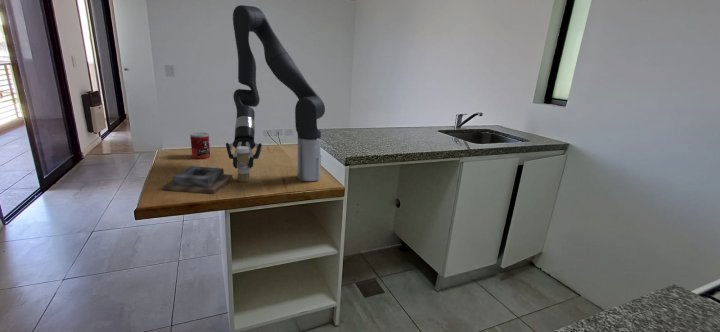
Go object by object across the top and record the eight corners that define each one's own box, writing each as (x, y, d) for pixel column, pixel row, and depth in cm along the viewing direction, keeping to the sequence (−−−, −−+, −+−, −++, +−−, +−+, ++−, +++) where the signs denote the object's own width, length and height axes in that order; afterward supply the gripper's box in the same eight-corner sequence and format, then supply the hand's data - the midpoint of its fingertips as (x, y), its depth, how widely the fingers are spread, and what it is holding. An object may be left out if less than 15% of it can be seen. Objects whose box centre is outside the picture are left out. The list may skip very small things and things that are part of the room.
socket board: (232, 178, 132) (232, 167, 131) (214, 193, 117) (213, 181, 116) (187, 175, 132) (186, 164, 131) (163, 189, 117) (162, 177, 116)
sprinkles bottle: (237, 182, 129) (235, 148, 125) (238, 178, 133) (237, 145, 129) (249, 182, 130) (248, 148, 126) (250, 178, 134) (249, 145, 130)
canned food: (199, 160, 151) (197, 136, 148) (188, 157, 155) (186, 133, 152) (213, 157, 158) (212, 134, 154) (203, 153, 162) (201, 131, 158)
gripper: (224, 124, 130) (221, 163, 123) (262, 125, 134) (261, 163, 126) (227, 134, 137) (224, 172, 129) (263, 135, 140) (262, 171, 133)
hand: (243, 167), depth 128 cm, fingers open, 4 cm apart
